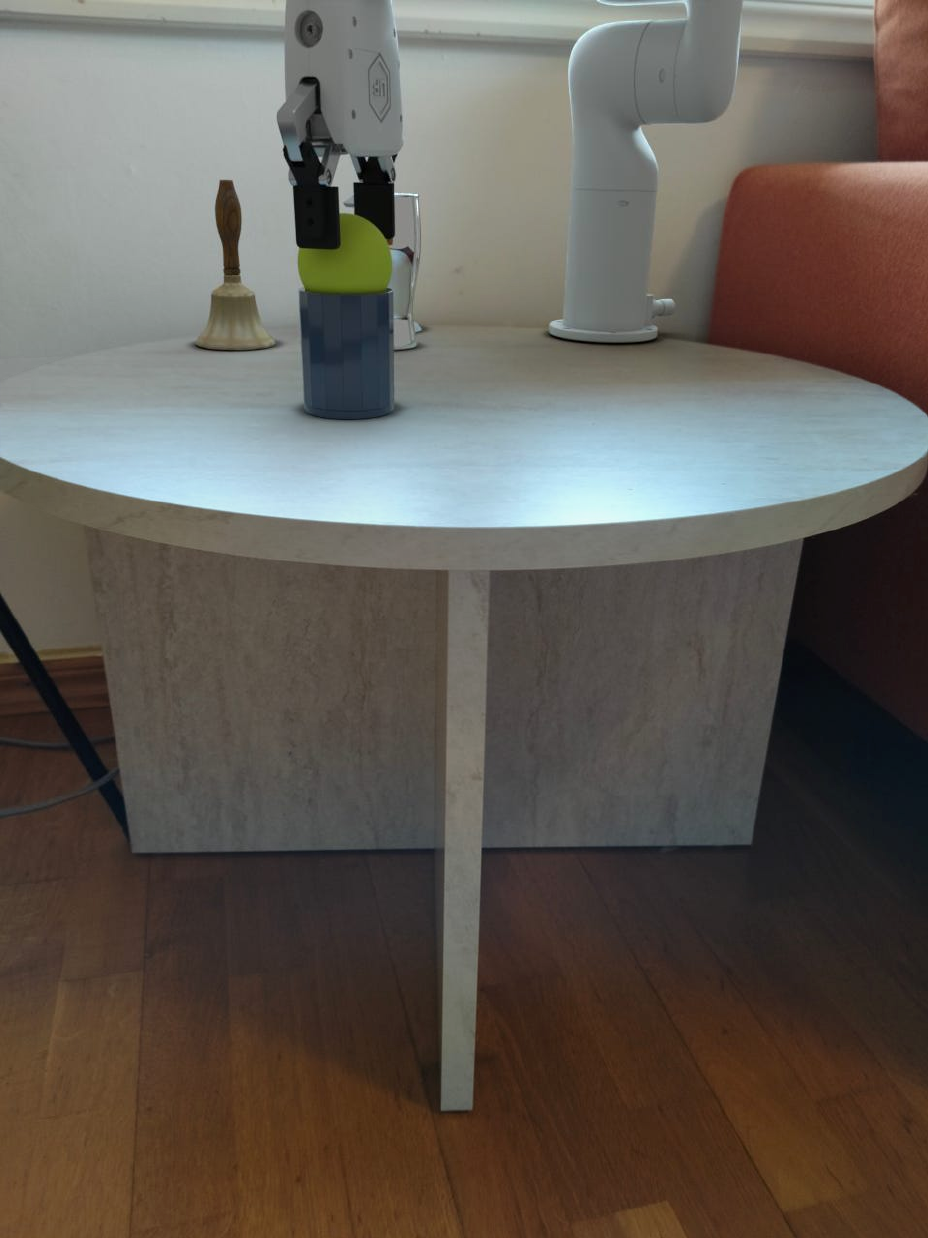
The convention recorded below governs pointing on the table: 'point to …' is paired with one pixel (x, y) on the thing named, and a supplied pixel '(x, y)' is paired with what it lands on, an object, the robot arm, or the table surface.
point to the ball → (348, 261)
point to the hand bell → (232, 287)
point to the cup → (347, 354)
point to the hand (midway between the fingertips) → (348, 242)
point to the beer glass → (405, 267)
